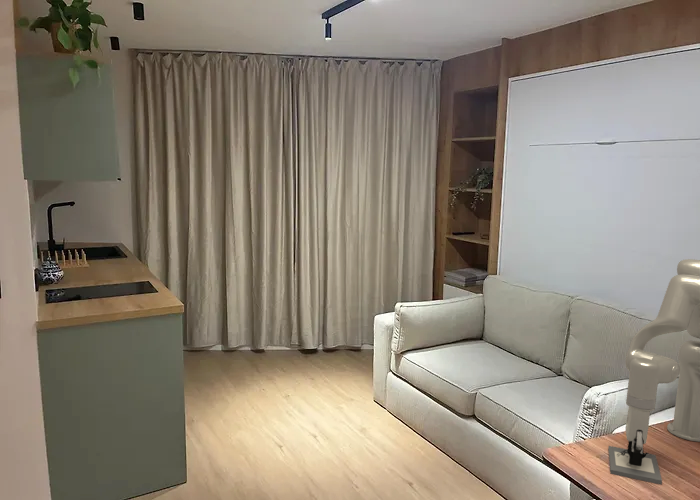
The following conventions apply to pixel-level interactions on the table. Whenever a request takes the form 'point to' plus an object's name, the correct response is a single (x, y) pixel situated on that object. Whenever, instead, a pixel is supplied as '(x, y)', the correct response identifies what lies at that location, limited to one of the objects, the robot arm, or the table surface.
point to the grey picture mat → (634, 466)
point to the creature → (629, 453)
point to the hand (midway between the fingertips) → (634, 458)
